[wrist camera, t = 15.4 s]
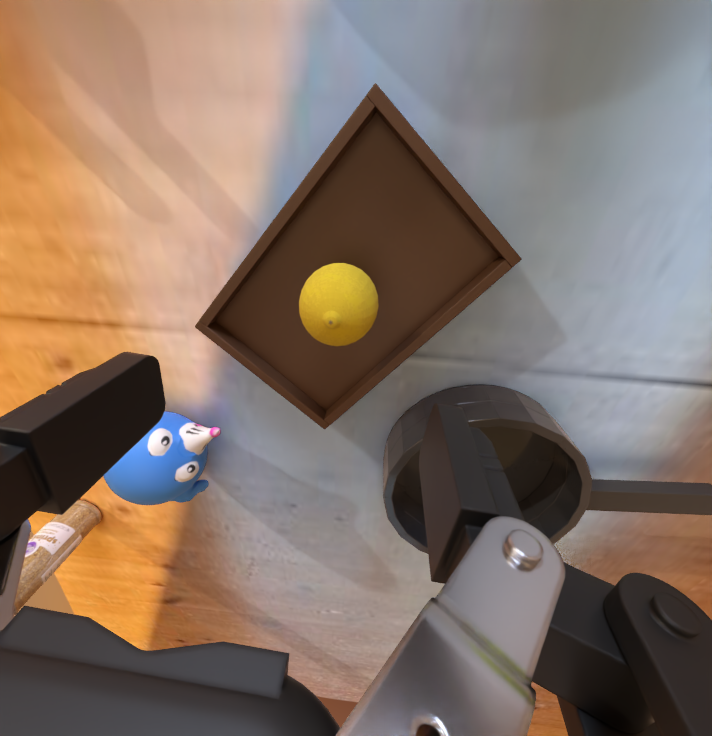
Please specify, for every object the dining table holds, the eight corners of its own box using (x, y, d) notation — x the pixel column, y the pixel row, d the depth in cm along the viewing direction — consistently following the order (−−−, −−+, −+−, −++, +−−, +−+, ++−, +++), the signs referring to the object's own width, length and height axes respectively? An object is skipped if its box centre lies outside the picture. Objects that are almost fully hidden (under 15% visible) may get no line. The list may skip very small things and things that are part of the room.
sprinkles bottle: (86, 494, 42) (-35, 612, 30) (110, 518, 43) (5, 639, 31) (60, 502, 43) (-67, 619, 31) (85, 525, 44) (-26, 645, 32)
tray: (376, 93, 22) (375, 82, 20) (511, 255, 25) (522, 259, 23) (206, 318, 30) (194, 327, 28) (328, 416, 33) (324, 430, 31)
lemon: (308, 256, 26) (279, 276, 19) (379, 255, 26) (377, 274, 18) (314, 323, 28) (291, 363, 21) (379, 323, 28) (377, 364, 21)
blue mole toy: (271, 447, 36) (240, 511, 28) (189, 479, 39) (142, 545, 31) (200, 356, 31) (142, 403, 24) (115, 401, 35) (40, 455, 27)
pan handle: (570, 497, 31) (578, 510, 30) (577, 478, 30) (586, 490, 29) (698, 502, 30) (712, 515, 29) (710, 482, 29) (724, 495, 28)
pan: (486, 347, 29) (507, 377, 24) (596, 462, 33) (632, 507, 28) (350, 454, 35) (344, 495, 30) (456, 538, 40) (466, 585, 35)
